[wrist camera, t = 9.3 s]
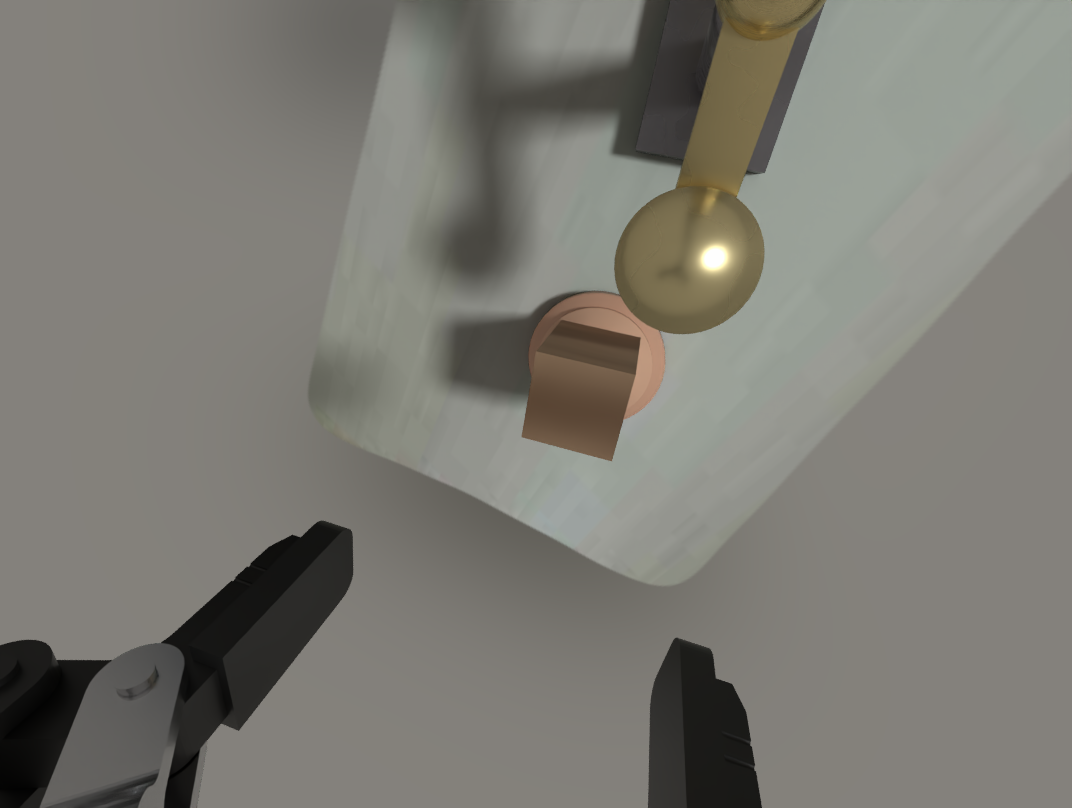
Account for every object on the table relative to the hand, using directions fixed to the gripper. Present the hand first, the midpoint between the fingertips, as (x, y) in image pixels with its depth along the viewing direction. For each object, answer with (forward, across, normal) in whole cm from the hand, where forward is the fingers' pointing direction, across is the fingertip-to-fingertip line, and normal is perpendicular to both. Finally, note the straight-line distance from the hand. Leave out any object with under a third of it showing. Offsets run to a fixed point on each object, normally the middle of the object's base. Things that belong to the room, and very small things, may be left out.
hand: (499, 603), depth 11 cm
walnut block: (+18, 0, 0) cm, 18 cm away
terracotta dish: (+19, 0, 0) cm, 19 cm away
